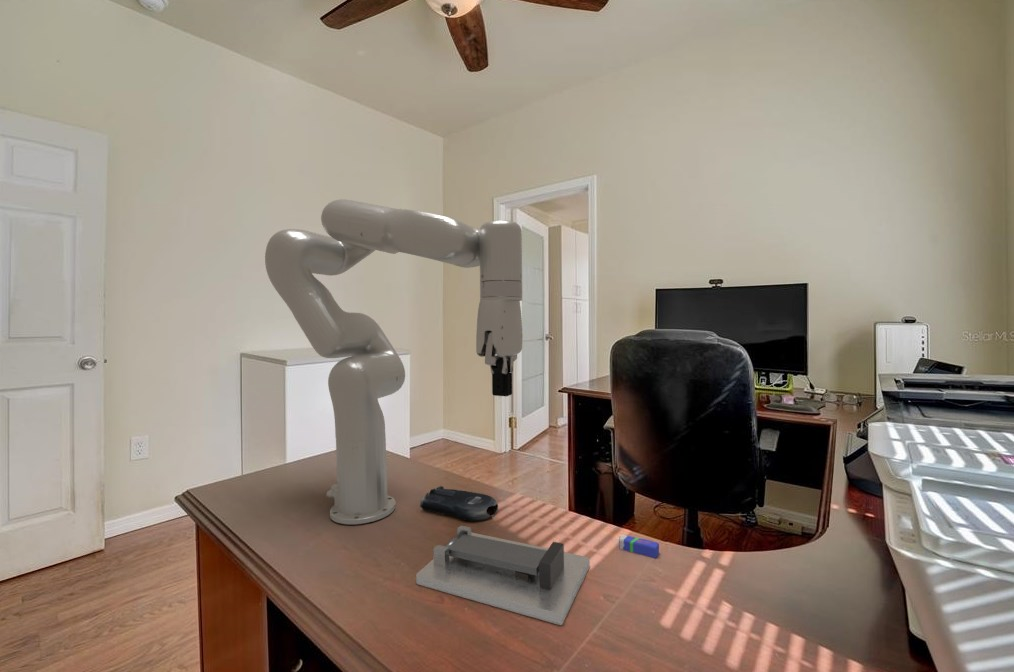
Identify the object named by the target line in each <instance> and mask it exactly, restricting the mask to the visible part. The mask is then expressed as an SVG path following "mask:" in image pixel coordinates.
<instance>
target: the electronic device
mask: <svg viewBox="0 0 1014 672" xmlns="http://www.w3.org/2000/svg"><path fill="white" fill-rule="evenodd" d="M498 503H499V502H497V500H496V499H495V498H494V497H492V496H490V495H488V494H485V493H480V492H475V491H474V492H473V491H468V490H458V489H450V488H449V489H448V488H444V485H439V486H437V487H436V488H433V489H432V488H431V489H430V490H429V492H427V493H425V495H424V496H422V497H421V499H420V503H419V504H420V505H419V507H420V508H421V509H422V510H423V511H425V510H426V511H428V512H431V513H437V514H442V515H445V516H446V515H447V516H452V517H455V518H457V519H460V520H464V521H467V522H469V521H470V522H480V521H485V520H487V519H490V518H491V517H492V519H494V518H495V517H494V516H495V515H496V514H497V512H498V510H499V509H498V508H499V506H498V505H499V504H498ZM489 507H491V508H492V509H493V510H494V513H493V514H492V515H490V514H489V513H488V512H487V510H488V508H489Z"/></svg>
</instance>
